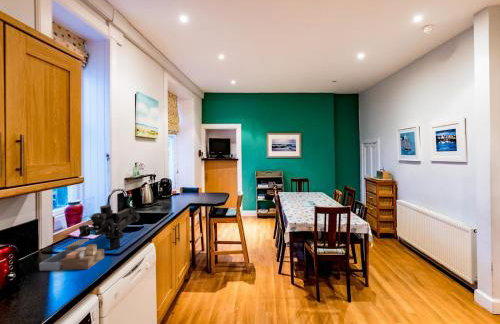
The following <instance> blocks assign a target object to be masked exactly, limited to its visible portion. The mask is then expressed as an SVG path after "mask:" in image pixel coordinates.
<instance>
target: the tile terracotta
mask: <svg viewBox="0 0 500 324" xmlns="http://www.w3.org/2000/svg"><path fill="white" fill-rule="evenodd" d="M80 252H81V251H75V250H73V252H71V253H69V254H67V259H75V258H77V257H78V256H79V253H80Z"/></svg>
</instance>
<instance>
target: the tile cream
mask: <svg viewBox="0 0 500 324" xmlns="http://www.w3.org/2000/svg"><path fill="white" fill-rule="evenodd" d="M85 249H86V246H81V247H80V246H79V247H78V248H77V249H75V250H74V251H81V252H82V251H84V250H85Z"/></svg>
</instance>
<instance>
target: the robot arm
mask: <svg viewBox="0 0 500 324" xmlns="http://www.w3.org/2000/svg"><path fill="white" fill-rule="evenodd" d="M99 207H100V208H99V209H100V212H96V213H93V214H92V215H91V216H90V220H91V221H92V226H89V224H83V225H79V228H78V229H79V234H78V238H80V239H81V238H86V237H89V236H91V232H94V235H95V236H103V235H104V236H105V239H106V240H109V247H108V248H107V249H108V250H118V249H119V248H118V247H119V246H120V245H121V239H123V237H124V232H123V230H124V229H125V228H126V227H128V226H129V225H130V224H132V223H136V222H138V221H139V220H140V217H141V215H140V214H139V212H138V211H136V210H134V209H133V208H124V209H123V210H120V211H118V212H112V205H111V204H105V205H102V206H99ZM123 218H125V219H123ZM117 248H118V249H117Z"/></svg>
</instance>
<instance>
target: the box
mask: <svg viewBox="0 0 500 324" xmlns="http://www.w3.org/2000/svg"><path fill="white" fill-rule="evenodd" d="M73 251H74V250H73ZM73 251H64V250H62V251H59V252H58V253H56V254H55V255H52V256H51V257H49V258H46V259H45V260H42V261H41V262H39V264H38V265H39V271H40V272H43V271H44V272H45V271H46V272H49V271H54V272H55V271H61V270H62V263H61V260H63V259H64V258H66V257H67V254H69V253H71V252H73Z"/></svg>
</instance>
